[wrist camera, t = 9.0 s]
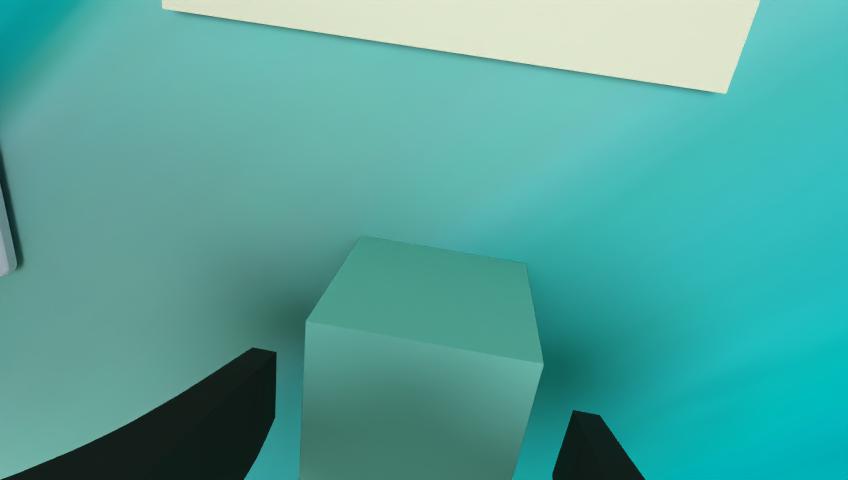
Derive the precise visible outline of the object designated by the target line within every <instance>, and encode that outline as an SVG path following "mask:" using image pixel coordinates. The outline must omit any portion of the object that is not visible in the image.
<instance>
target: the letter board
mask: <svg viewBox="0 0 848 480" xmlns="http://www.w3.org/2000/svg"><path fill="white" fill-rule="evenodd" d="M759 3H760V0H162V9H168V10H174V11H181V12H188V13H194V14H201V15H208V16H214V17H221V18H227V19H234V20H241V21H247V22H254V23H261V24H267V25H274V26H280V27H287V28H294V29H300V30H307V31H314V32H320V33H327V34H333V35H340V36H347V37H353V38H360V39H367V40H373V41H380V42H386V43H393V44H400V45H406V46H413V47H420V48H426V49H433V50H439V51H446V52H453V53H459V54H466V55H473V56H479V57H486V58H492V59H499V60H506V61H512V62H519V63H526V64H532V65H539V66H545V67H552V68H559V69H565V70H572V71H579V72H585V73H592V74H598V75H605V76H612V77H618V78H625V79H632V80H638V81H645V82H651V83H658V84H665V85H671V86H678V87H685V88H691V89H698V90H704V91H711V92H718V93H724V94H726V93H727V90H728V87H729V84H730V82H731V79H732V76H733V73H734V71H735V68H736V65H737V63H738V60H739V57H740V54H741V52H742V49H743V46H744V43H745V41H746V38H747V35H748V33H749V30H750V27H751V24H752V22H753V19H754V16H755V14H756V11H757V8H758V5H759Z"/></svg>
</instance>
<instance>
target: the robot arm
mask: <svg viewBox="0 0 848 480" xmlns="http://www.w3.org/2000/svg"><path fill="white" fill-rule="evenodd" d="M16 267H17V260H16V255H15V251H14V246H13V241H12V237H11V232H10V227H9V222H8V218H7V213H6V208H5V204H4V199H3V194H2V189H1V185H0V276H5V275H7V274H9V273H11V272H13V271H15V269H16ZM276 355H277V352H273V351H268V350H263V349H258V348H251V349H250V350H248V351H246V352H245V353H243V354H242V355H240V356H239V357H237V358H235V359H234V360H232V361H231V362H229V363H228V364H226V365H225V366H223V367H222V368H220V369H219V370H217V371H216V372H214V373H212V374H211V375H209V376H208V377H206V378H205V379H203V380H202V381H200V382H198V383H197V384H195V385H194V386H192V387H191V388H189V389H187V390H186V391H184V392H183V393H181V394H179V395H178V396H176V397H174V398H173V399H171V400H169V401H167V402H166V403H164V404H162V405H160V406H159V407H157V408H155V409H154V410H152V411H150V412H148V413H147V414H145V415H143V416H141V417H140V418H138V419H136V420H134V421H132V422H130V423H129V424H127V425H125V426H123V427H121V428H119V429H117V430H115V431H113V432H111V433H109V434H107V435H105V436H103V437H101V438H99V439H96V440H94V441H92V442H90V443H88V444H86V445H84V446H82V447H79V448H77V449H75V450H73V451H70V452H68V453H66V454H63V455H61V456H58V457H56V458H54V459H51V460H49V461H46V462H44V463H42V464H39V465H37V466H34V467H32V468H30V469H27V470H25V471H22V472H20V473H17V474H15V475H12V476H9V477H7V478H4V479H1V480H244V479H245V477H246V475H247V474H248V472H249V470H250V468H251V467H252V465H253V463H254V462H255V460H256V458H257V457H258V454H259V452H260V450H261V448H262V446H263V444H264V441H265V439H266V437H267V435H268V432H269V430H270V428H271V426H272V423H273V421H274V419H275V399H276ZM552 478H553V480H645V478H644V477H643V476H642V474H641V473H640V472H639V470H638V469H637V467H636V466H635V465H634V463H633V462H632V461H631V459H630V458H629V456H628V455H627V453H626V452H625V451H624V449H623V448H622V446H621V445H620V444H619V442H618V441H617V439H616V438H615V436H614V435H613V433H612V432H611V431H610V429H609V428H608V426H607V425H606V423H605V422H604V421H603V419H602V418H601V416H600V415H596V414H591V413H585V412H580V411H575V410H573V413H572V416H571V419H570V422H569V425H568V428H567V431H566V434H565V437H564V440H563V443H562V446H561V449H560V452H559V455H558V458H557V461H556V464H555V467H554V470H553V473H552Z"/></svg>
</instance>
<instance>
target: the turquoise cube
mask: <svg viewBox="0 0 848 480" xmlns="http://www.w3.org/2000/svg"><path fill="white" fill-rule="evenodd" d="M543 366H544V362H543V356H542V351H541V345H540V340H539V334H538V329H537V323H536V318H535V312H534V306H533V301H532V295H531V290H530V284H529V279H528V273H527V268H526V263H520V262H514V261H508V260H502V259H496V258H490V257H485V256H479V255H473V254H467V253H461V252H455V251H449V250H443V249H437V248H432V247H426V246H420V245H414V244H408V243H402V242H396V241H390V240H384V239H378V238H373V237H367V236H361V237H360V238H359V240H358V241H357V243H356V245H355V246H354V248H353V249H352V251H351V252H350V254H349V255H348V257H347V258H346V260H345V261H344V263H343V265H342V266H341V268H340V269H339V271H338V272H337V274H336V275H335V277H334V278H333V280H332V282H331V283H330V285H329V286H328V288H327V289H326V291H325V292H324V294H323V295H322V297H321V298H320V300H319V302H318V303H317V305H316V306H315V308H314V309H313V311H312V312H311V314H310V315H309V317H308V319H307V320H306V328H305V352H304V375H303V398H302V422H301V445H300V468H299V480H512V477H513V474H514V470H515V466H516V463H517V459H518V456H519V452H520V448H521V445H522V441H523V438H524V434H525V431H526V427H527V423H528V420H529V416H530V413H531V409H532V405H533V402H534V398H535V395H536V391H537V387H538V384H539V380H540V377H541V373H542V369H543Z"/></svg>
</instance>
